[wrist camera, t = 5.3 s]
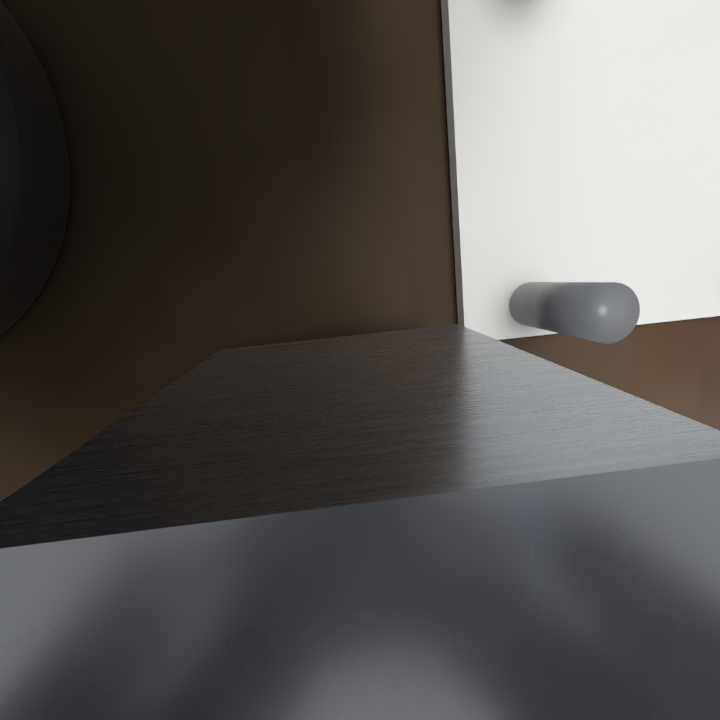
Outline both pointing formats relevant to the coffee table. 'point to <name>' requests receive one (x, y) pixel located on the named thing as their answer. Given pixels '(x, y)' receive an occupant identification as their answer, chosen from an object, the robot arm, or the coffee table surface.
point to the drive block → (370, 546)
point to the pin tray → (583, 163)
